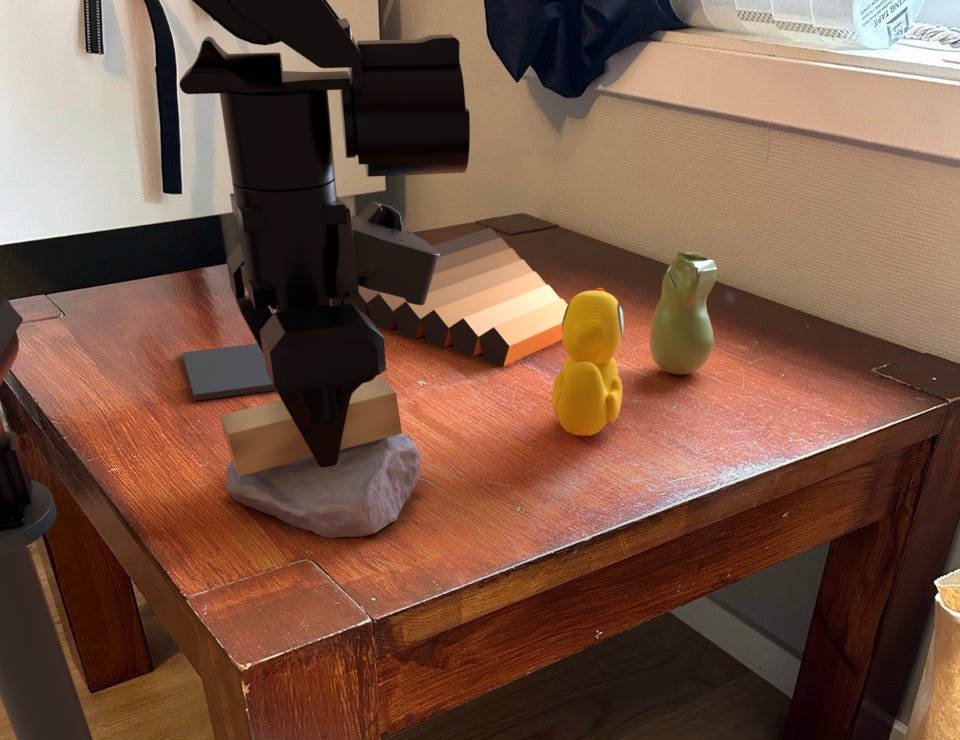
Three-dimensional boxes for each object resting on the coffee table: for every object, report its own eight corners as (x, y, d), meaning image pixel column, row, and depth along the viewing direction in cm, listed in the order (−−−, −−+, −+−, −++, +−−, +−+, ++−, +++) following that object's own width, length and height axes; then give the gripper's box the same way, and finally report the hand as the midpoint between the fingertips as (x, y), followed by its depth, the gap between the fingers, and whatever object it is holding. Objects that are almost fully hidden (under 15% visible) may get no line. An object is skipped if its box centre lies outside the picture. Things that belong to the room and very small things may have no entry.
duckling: (560, 392, 81) (566, 270, 75) (625, 396, 80) (635, 274, 74) (541, 452, 72) (545, 319, 66) (613, 458, 71) (624, 324, 65)
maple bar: (239, 476, 61) (227, 434, 60) (230, 456, 64) (218, 415, 62) (402, 434, 64) (396, 392, 62) (388, 416, 66) (382, 375, 65)
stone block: (378, 568, 63) (432, 473, 69) (363, 511, 59) (422, 416, 65) (219, 542, 66) (284, 454, 72) (197, 488, 63) (267, 399, 69)
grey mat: (194, 401, 80) (193, 394, 80) (183, 358, 88) (182, 352, 87) (348, 380, 83) (348, 373, 83) (324, 340, 91) (324, 334, 91)
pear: (665, 355, 88) (678, 241, 82) (719, 368, 85) (736, 251, 79) (635, 375, 84) (647, 256, 78) (692, 389, 82) (707, 268, 76)
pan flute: (479, 254, 114) (319, 308, 99) (479, 224, 112) (316, 275, 97) (660, 298, 101) (509, 369, 86) (664, 265, 99) (509, 331, 84)
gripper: (473, 206, 49) (475, 479, 59) (381, 140, 64) (395, 367, 73) (253, 226, 46) (292, 510, 56) (209, 152, 61) (245, 387, 70)
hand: (313, 434), depth 64 cm, fingers open, 9 cm apart
